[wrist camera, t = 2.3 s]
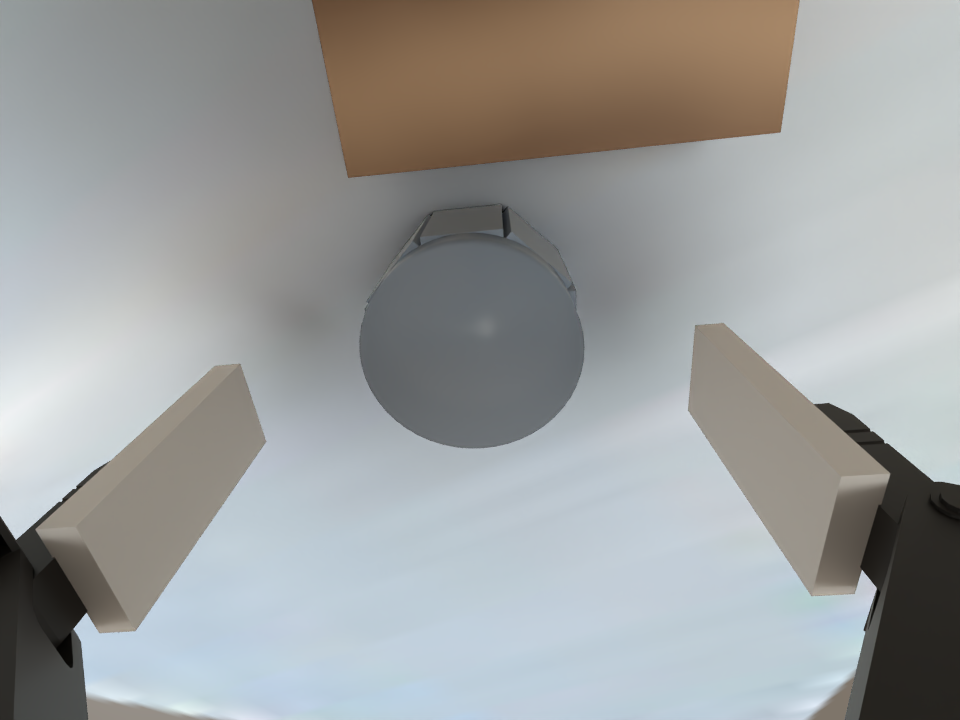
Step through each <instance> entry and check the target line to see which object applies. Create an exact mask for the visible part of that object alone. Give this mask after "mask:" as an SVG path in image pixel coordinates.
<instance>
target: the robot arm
mask: <svg viewBox="0 0 960 720" xmlns="http://www.w3.org/2000/svg"><path fill="white" fill-rule="evenodd" d="M688 411H689V412H690V414H691V415H692V417H693V418H694V420H695V422H696V423H697V425H698V426H699V428H700V429H701V431H702V432H703V434H704V435H705V437H706V438H707V440H708V441H709V443H710V444H711V446H712V447H713V449H714V450H715V452H716V453H717V455H718V456H719V458H720V459H721V461H722V462H723V464H724V465H725V467H726V468H727V470H728V471H729V473H730V474H731V476H732V477H733V479H734V480H735V482H736V483H737V485H738V486H739V488H740V489H741V491H742V492H743V494H744V495H745V497H746V498H747V500H748V501H749V503H750V504H751V506H752V507H753V509H754V510H755V512H756V513H757V515H758V516H759V518H760V519H761V521H762V522H763V524H764V525H765V527H766V528H767V530H768V531H769V533H770V534H771V536H772V537H773V539H774V540H775V542H776V543H777V545H778V546H779V548H780V549H781V551H782V552H783V554H784V555H785V557H786V558H787V560H788V561H789V563H790V565H791V566H792V568H793V569H794V571H795V572H796V574H797V575H798V577H799V578H800V580H801V581H802V583H803V584H804V586H805V587H806V589H807V590H808V592H809V593H810V595H811V596H825V595H844V594H855V591H856V587H857V584H858V581H859V577H860V574H861V571H862V570H863V571H864V573H865V574H866V575H867V576H868V577H869V579H870V580H871V581H872V582H873V584H874V585H875V586H876V587H877V590H876V593H875V596H874V599H873V602H872V605H871V608H870V612H869V615H868V618H867V621H866V624H865V627H864V631H866V632H865V636H864V640H863V645H862V649H861V653H860V657H859V661H858V666H857V670H856V674H855V678H854V682H853V687H852V691H851V695H850V699H849V703H848V708H847V712H846V716H845V720H960V485H956V484H950V483H945V482H933V481H932V480H931V479H930V478H929V477H927V476H926V475H925V474H924V473H923V472H921V471H920V470H919V469H918V468H917V467H915V466H914V465H913V464H912V463H911V462H909V461H908V460H907V459H906V458H905V457H903V456H902V455H901V454H900V453H899V452H897V451H896V450H895V449H894V448H893V447H891V446H890V445H889V444H888V443H886V444H885V443H884V440H883V439H882V438H881V437H879V436H878V435H877V434H876V433H874V432H870V428H868V427H867V426H866V425H865V424H864V423H862V422H861V421H860V420H859V419H858V418H856V417H855V416H854V415H853V414H851V413H848V412H846V411H844V410H842V409H840V408H838V407H836V406H834V405H832V404H829V403H824V404H813V403H812V402H810V401H809V400H808V399H807V398H806V397H805V396H804V395H803V394H802V393H800V392H799V391H798V390H797V389H796V388H795V387H794V386H793V385H792V384H790V383H789V382H788V381H787V380H786V379H785V378H784V377H783V376H782V375H780V374H779V373H778V372H777V371H776V370H775V369H774V368H773V367H772V366H770V365H769V364H768V363H767V362H766V361H765V360H764V359H763V358H762V357H760V356H759V355H758V354H757V353H756V352H755V351H754V350H753V349H752V348H750V347H749V346H748V345H747V344H746V343H745V342H744V341H743V340H742V339H740V338H739V337H738V336H737V335H736V334H735V333H734V332H733V331H732V330H730V329H729V328H728V327H727V326H726V325H725V324H724V323H719V324H707V325H695V334H694V345H693V357H692V369H691V381H690V393H689V405H688ZM265 443H266V440H265V437H264V434H263V431H262V428H261V425H260V422H259V419H258V416H257V413H256V410H255V407H254V404H253V401H252V398H251V395H250V392H249V389H248V386H247V383H246V380H245V377H244V374H243V371H242V368H241V365H240V364H231V365H219V366H214V367H213V368H212V369H211V370H210V371H209V372H208V373H207V374H206V375H205V376H203V377H202V378H201V379H200V380H199V381H198V382H197V383H196V384H195V385H194V386H192V387H191V388H190V389H189V390H188V391H187V392H186V393H185V394H184V395H183V396H181V397H180V398H179V399H178V400H177V401H176V402H175V403H174V404H173V405H172V406H170V407H169V408H168V409H167V410H166V411H165V412H164V413H163V414H162V415H161V416H159V417H158V418H157V419H156V420H155V421H154V422H153V423H152V424H151V425H150V426H148V427H147V428H146V429H145V430H144V431H143V432H142V433H141V434H140V435H139V436H137V437H136V438H135V439H134V440H133V441H132V442H131V443H130V444H129V445H128V446H126V447H125V448H124V449H123V450H122V451H121V452H120V453H119V454H118V455H117V456H115V457H114V458H113V459H112V460H111V461H109V462H107V463H106V464H104V465H103V466H101V467H99V468H98V469H96V470H94V471H93V472H92V473H91V474H90V475H88V476H87V477H86V478H85V479H84V480H83V481H82V482H81V483H79V484H78V485H77V486H76V487H77V488H76V489H73V490H72V491H71V492H69V493H68V494H67V495H66V496H65V497H64V498H63V501H62V502H58V503H57V504H56V505H55V506H54V507H53V508H52V509H50V510H49V511H48V512H47V513H46V514H45V515H44V516H43V517H41V518H40V519H39V520H38V521H37V522H36V523H35V524H34V525H33V526H31V527H30V528H29V529H28V530H27V531H26V532H25V533H24V534H22V535H21V536H20V537H19V538H18V539H17V540H15V538H14V537H13V535H12V533H11V532H10V530H9V529H8V527H7V526H6V524H5V523H4V521H3V520H2V518H1V516H0V720H88V713H87V702H86V691H85V680H84V669H83V659H82V648H81V641H80V639H79V637H78V635H77V634H76V632H75V631H74V629H73V628H74V627H75V626H76V625H77V624H78V622H79V621H80V620H81V619H82V617H83V616H84V615H85V614H86V613H87V614H88V616H89V617H90V619H91V620H92V622H93V624H94V625H95V627H96V629H97V630H98V632H99V633H110V632H129V631H136V630H137V628H138V627H139V625H140V624H141V622H142V621H143V620H144V618H145V617H146V615H147V614H148V612H149V611H150V609H151V608H152V607H153V605H154V604H155V602H156V601H157V599H158V598H159V596H160V595H161V593H162V592H163V591H164V589H165V588H166V586H167V585H168V583H169V582H170V580H171V579H172V578H173V576H174V575H175V573H176V572H177V570H178V569H179V567H180V566H181V564H182V563H183V562H184V560H185V559H186V557H187V556H188V554H189V553H190V551H191V550H192V548H193V547H194V546H195V544H196V543H197V541H198V540H199V538H200V537H201V535H202V534H203V533H204V531H205V530H206V528H207V527H208V525H209V524H210V522H211V521H212V519H213V518H214V517H215V515H216V514H217V512H218V511H219V509H220V508H221V506H222V505H223V504H224V502H225V501H226V499H227V498H228V496H229V495H230V493H231V492H232V490H233V489H234V488H235V486H236V485H237V483H238V482H239V480H240V479H241V477H242V476H243V475H244V473H245V472H246V470H247V469H248V467H249V466H250V464H251V463H252V461H253V460H254V459H255V457H256V456H257V454H258V453H259V451H260V450H261V448H262V447H263V446H264V444H265Z"/></svg>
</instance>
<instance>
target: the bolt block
mask: <svg viewBox="0 0 960 720" xmlns="http://www.w3.org/2000/svg"><path fill="white" fill-rule="evenodd" d="M312 3H313V8H314V13H315V18H316V23H317V28H318V32H319V37H320V42H321V47H322V52H323V57H324V62H325V67H326V72H327V77H328V82H329V87H330V91H331V96H332V101H333V106H334V111H335V116H336V121H337V126H338V131H339V136H340V141H341V146H342V150H343V155H344V160H345V165H346V170H347V175H348V178H352V177H361V176H371V175H380V174H390V173H399V172H409V171H418V170H428V169H437V168H447V167H456V166H466V165H475V164H485V163H494V162H504V161H513V160H523V159H532V158H542V157H551V156H561V155H570V154H580V153H589V152H599V151H608V150H618V149H627V148H637V147H646V146H656V145H665V144H675V143H684V142H694V141H703V140H713V139H722V138H732V137H741V136H751V135H760V134H770V133H779V132H781V126H782V119H783V112H784V105H785V98H786V91H787V84H788V77H789V70H790V63H791V56H792V49H793V42H794V35H795V28H796V21H797V14H798V7H799V0H312Z"/></svg>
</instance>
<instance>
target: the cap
mask: <svg viewBox="0 0 960 720" xmlns="http://www.w3.org/2000/svg"><path fill="white" fill-rule="evenodd" d="M366 302H368V305H367V306H366V308H365V315H364V318H363V322H362V325H361V332H360V358H361V364H362V368H363V371H364V375H365V378H366V380H367V382H368V385H369V387H370V389H371V391H372V392H373V394H374V396H375V397H376V399H377V400H378V402H379V403H380V404H381V405H382V407H383V408H384V409H385V410H386V411H387V412H388V413H389V414H390V415H391V416H392V417H393V418H394V419H395V420H396V421H397V422H399V423H400V424H401V425H403V426H404V427H405V428H407V429H408V430H410V431H412V432H414V433H415V434H417V435H419V436H421V437H424V438H426V439H428V440H430V441H434V442H437V443H440V444H443V445H448V446H453V447H460V448H487V447H495V446H500V445H504V444H508V443H511V442H514V441H517V440H520V439H522V438H524V437H526V436H528V435H530V434H532V433H534V432H535V431H537V430H538V429H540V428H542V427H543V426H544V425H546V424H547V423H548V422H549V421H550V420H552V419H553V418H554V417H555V416H556V415H557V414H558V413H559V412H560V411H561V409H562V408H563V407H564V406H565V404H566V403H567V401H568V400H569V399H570V397H571V395H572V393H573V391H574V390H575V388H576V386H577V383H578V380H579V377H580V375H581V370H582V365H583V360H584V338H583V331H582V327H581V323H580V319H579V317H578V314H577V312H576V289H575V287H574V285H573V282H572V280H571V278H570V276H569V273H568V271H567V269H566V267H565V264H564V262H563V260H562V258H561V255H560V254H559V251H558V249H557V248H556V247H554V246H553V245H552V244H551V243H550V242H549V241H547V240H546V239H545V238H544V237H543V236H542V235H541V234H539V233H538V232H537V231H536V230H535V229H534V228H532V227H531V226H530V225H529V224H528V223H527V222H525V221H524V220H523V219H522V218H521V217H520V216H518V215H517V214H516V213H515V212H514V211H513V210H511V209H510V208H509V207H507V208H506V210H505V211H504V212H503V213H502V208H501V204H500V205H490V206H480V207H470V208H460V209H450V210H440V211H434V213H433V215H432V216H430V215H428V216H427V217H426V218H425V220H424V221H423V222H422V224H421V225H420V226H419V227H418V229H417V230H416V231H415V233H414V234H413V235H412V237H411V238H410V239H409V241H408V242H407V243H406V245H405V246H404V247H403V249H402V250H401V251H400V253H399V254H398V255H397V257H396V258H395V259H394V261H393V262H392V263H391V265H390V266H389V268H388V269H387V271H386V272H385V274H384V275H383V277H382V278H381V280H380V281H379V283H378V285H377V286H376V288H375V289H374V291H373V292H372V294H371V295H370V297H369V298H368V300H367V301H366Z"/></svg>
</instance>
